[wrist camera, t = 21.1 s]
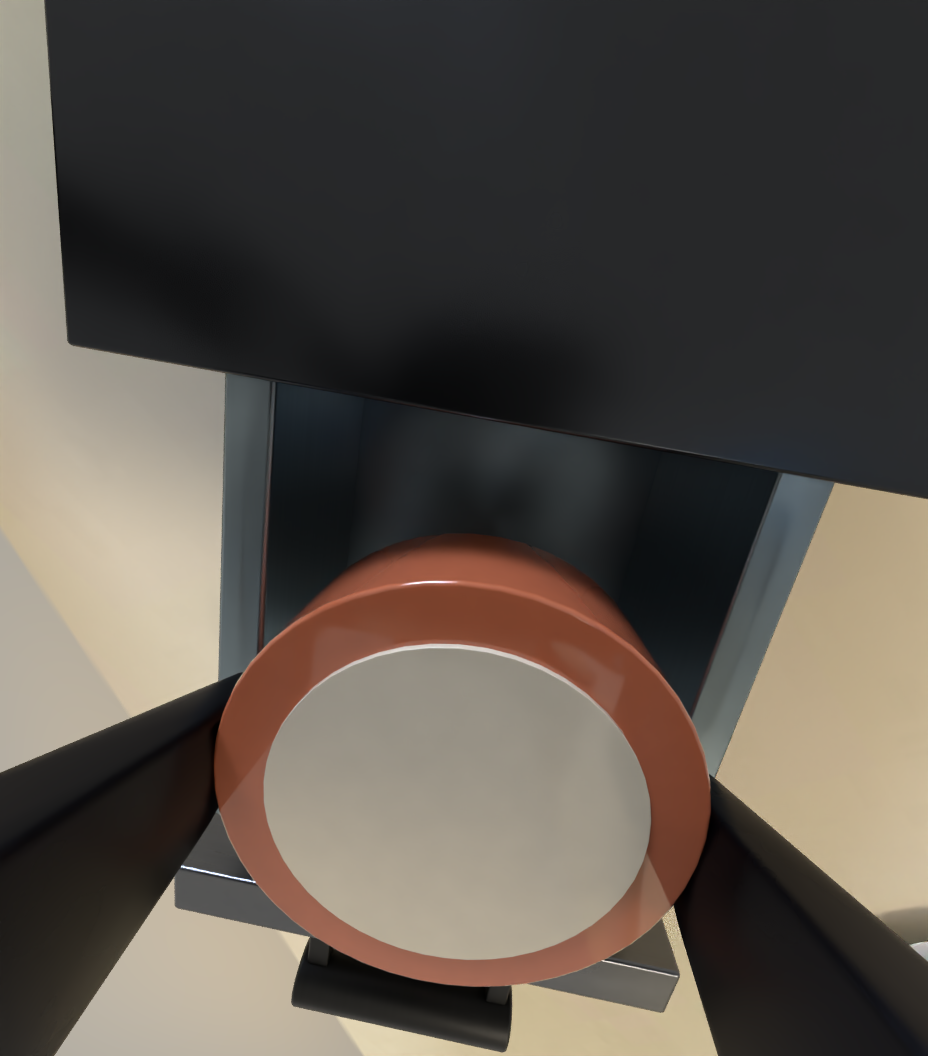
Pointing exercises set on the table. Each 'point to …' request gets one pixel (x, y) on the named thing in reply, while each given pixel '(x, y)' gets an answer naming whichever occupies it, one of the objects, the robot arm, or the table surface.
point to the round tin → (463, 767)
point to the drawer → (517, 514)
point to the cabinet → (519, 212)
